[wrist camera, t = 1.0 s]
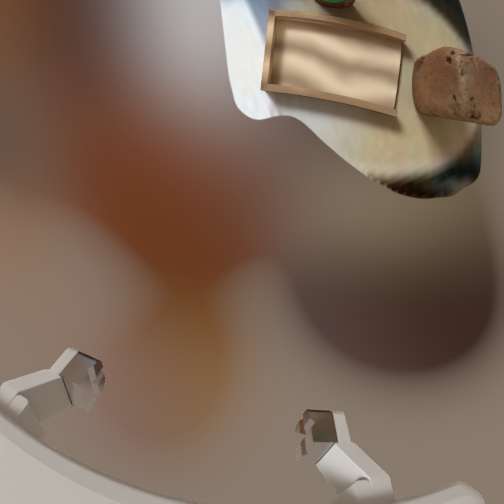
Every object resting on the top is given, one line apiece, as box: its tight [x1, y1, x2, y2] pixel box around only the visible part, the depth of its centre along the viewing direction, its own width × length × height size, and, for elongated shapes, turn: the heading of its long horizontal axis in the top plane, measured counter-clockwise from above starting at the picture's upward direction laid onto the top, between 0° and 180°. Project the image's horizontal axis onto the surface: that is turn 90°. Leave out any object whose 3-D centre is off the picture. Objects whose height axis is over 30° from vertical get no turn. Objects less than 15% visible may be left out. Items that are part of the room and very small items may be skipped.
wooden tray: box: [261, 10, 406, 117], centre depth 35 cm, size 15×22×4 cm
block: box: [412, 47, 502, 126], centre depth 26 cm, size 11×8×20 cm
